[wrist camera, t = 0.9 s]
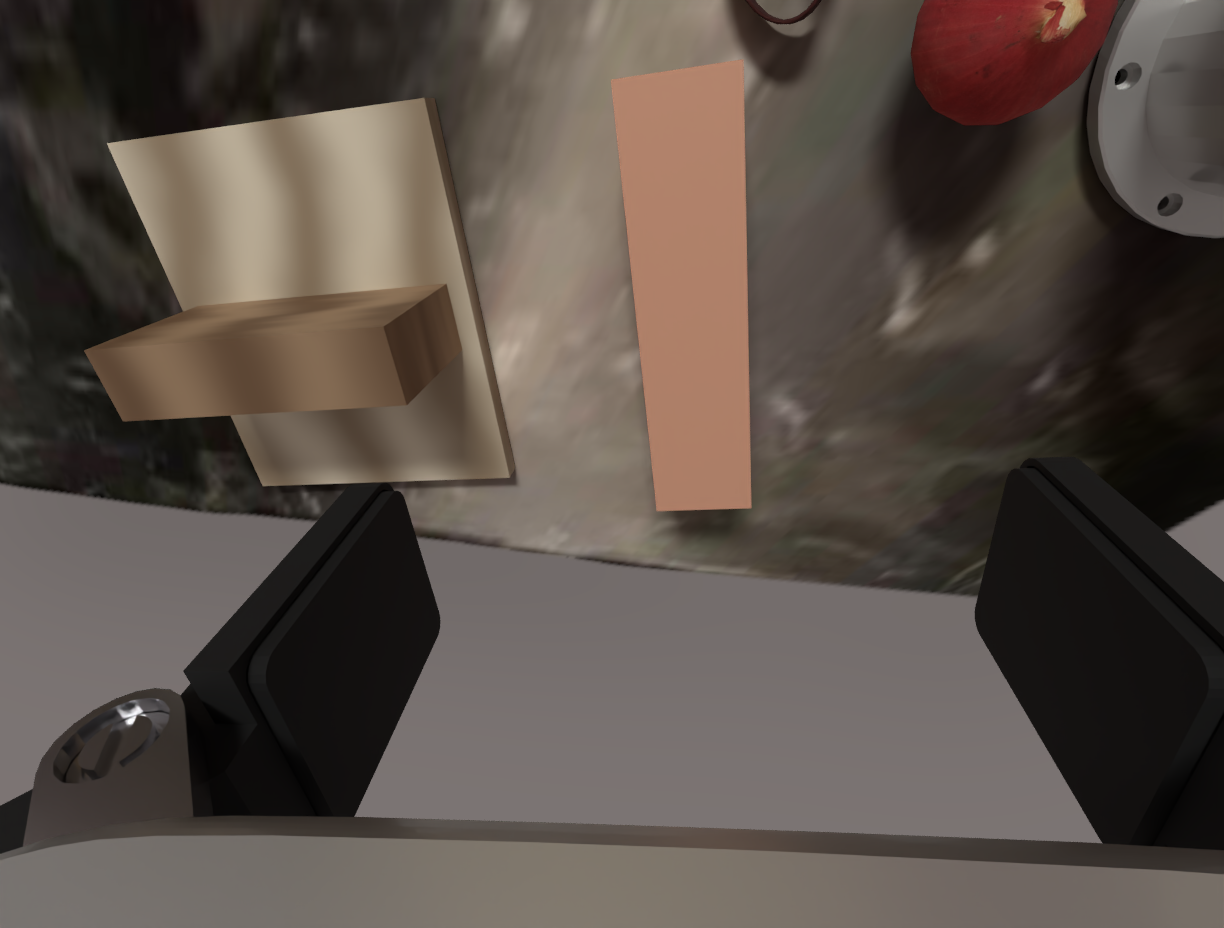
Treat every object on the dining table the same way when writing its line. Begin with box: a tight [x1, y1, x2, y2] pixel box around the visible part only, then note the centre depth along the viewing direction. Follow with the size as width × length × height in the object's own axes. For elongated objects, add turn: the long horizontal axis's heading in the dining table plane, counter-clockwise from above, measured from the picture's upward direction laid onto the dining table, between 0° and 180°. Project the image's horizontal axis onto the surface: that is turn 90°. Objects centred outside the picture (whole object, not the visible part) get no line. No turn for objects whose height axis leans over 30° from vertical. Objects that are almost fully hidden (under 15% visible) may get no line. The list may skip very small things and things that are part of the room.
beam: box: [611, 60, 751, 511], centre depth 28 cm, size 4×18×6 cm, turn 7°
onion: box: [911, 0, 1118, 125], centre depth 21 cm, size 6×6×8 cm
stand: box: [84, 98, 515, 486], centre depth 30 cm, size 16×19×8 cm
